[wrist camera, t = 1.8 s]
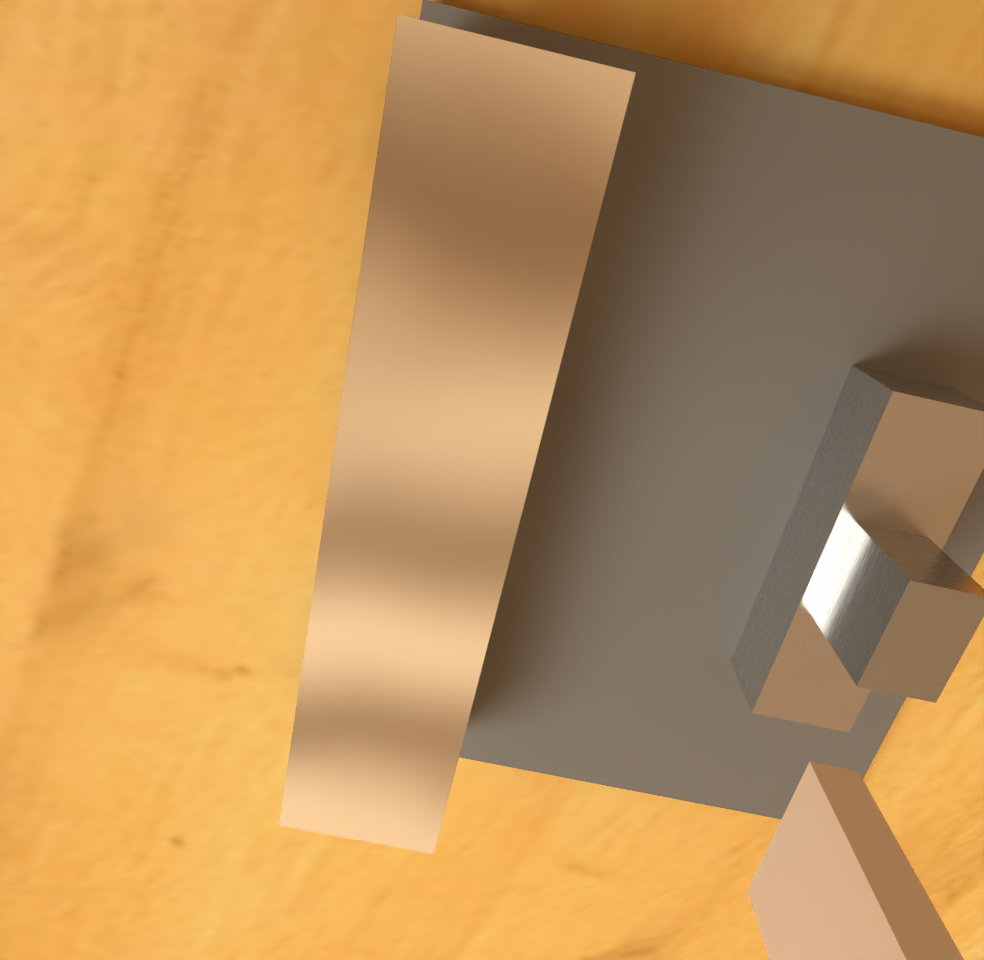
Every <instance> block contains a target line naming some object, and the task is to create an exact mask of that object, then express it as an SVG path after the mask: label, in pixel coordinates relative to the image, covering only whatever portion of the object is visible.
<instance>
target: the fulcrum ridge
mask: <svg viewBox="0 0 984 960" xmlns="http://www.w3.org/2000/svg"><path fill="white" fill-rule="evenodd" d="M983 469H984V404H983V403H982V402H980V401H978V400H976V399H974V398H972V397H970V396H968V395H967V394H965V393H963V392H961V391H959V390H957V389H954V388H950V387H945V386H941V385H937V384H932V383H928V382H923V381H919V380H915V379H910V378H906V377H901V376H897V375H893V374H888V373H884V372H880V371H875V370H871V369H866V368H862V367H858V366H853V365H852V367H851V369H850V371H849V374H848V376H847V379H846V381H845V384H844V386H843V388H842V391H841V393H840V396H839V398H838V401H837V403H836V405H835V408H834V410H833V413H832V415H831V418H830V420H829V422H828V425H827V427H826V430H825V432H824V435H823V437H822V439H821V442H820V444H819V447H818V449H817V452H816V454H815V456H814V459H813V461H812V464H811V466H810V469H809V471H808V473H807V476H806V478H805V481H804V483H803V486H802V488H801V490H800V493H799V495H798V498H797V500H796V503H795V505H794V507H793V510H792V512H791V515H790V517H789V520H788V522H787V524H786V527H785V529H784V532H783V534H782V537H781V539H780V541H779V544H778V546H777V549H776V551H775V554H774V556H773V558H772V561H771V563H770V566H769V568H768V571H767V573H766V575H765V578H764V580H763V583H762V585H761V588H760V590H759V592H758V595H757V597H756V600H755V602H754V605H753V607H752V609H751V612H750V614H749V617H748V619H747V621H746V624H745V626H744V629H743V631H742V634H741V636H740V638H739V641H738V643H737V646H736V648H735V651H734V653H733V655H732V658H731V660H730V662H731V665H732V667H733V669H734V672H735V674H736V677H737V679H738V681H739V684H740V686H741V688H742V691H743V693H744V696H745V698H746V700H747V703H748V705H749V708H750V710H751V712H752V713H754V714H759V715H764V716H769V717H774V718H779V719H784V720H789V721H794V722H799V723H804V724H809V725H814V726H819V727H824V728H829V729H834V730H839V731H844V732H850V730H851V728H852V726H853V724H854V722H855V720H856V718H857V716H858V714H859V712H860V710H861V708H862V706H863V705H864V703H865V701H866V699H867V697H868V695H869V693H870V691H871V689H872V690H877V691H881V692H886V693H891V694H896V695H901V696H906V697H911V698H916V699H921V700H926V701H931V702H935V703H936V701H937V700H938V698H939V696H940V694H941V692H942V691H943V689H944V687H945V685H946V683H947V681H948V680H949V678H950V676H951V674H952V672H953V671H954V669H955V667H956V665H957V663H958V662H959V660H960V658H961V656H962V654H963V653H964V651H965V649H966V647H967V645H968V644H969V642H970V640H971V638H972V636H973V635H974V633H975V631H976V629H977V627H978V626H979V624H980V622H981V620H982V618H983V617H984V589H983V588H982V587H981V586H980V585H979V584H978V583H977V582H976V581H975V580H974V579H972V578H971V577H970V576H969V575H968V574H967V573H966V572H965V571H964V570H963V569H962V568H961V567H960V566H958V565H957V564H956V563H955V562H954V561H953V560H952V559H951V558H950V557H949V556H948V555H947V554H946V553H945V552H943V551H942V549H943V547H944V545H945V543H946V541H947V539H948V537H949V535H950V533H951V531H952V530H953V528H954V526H955V524H956V522H957V520H958V518H959V516H960V514H961V512H962V510H963V508H964V506H965V504H966V502H967V500H968V498H969V496H970V494H971V492H972V490H973V488H974V486H975V484H976V482H977V480H978V478H979V476H980V474H981V472H982V471H983Z"/></svg>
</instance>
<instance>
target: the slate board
mask: <svg viewBox="0 0 984 960" xmlns="http://www.w3.org/2000/svg"><path fill="white" fill-rule="evenodd" d="M420 20H424V21H428V22H432V23H436V24H440V25H444V26H448V27H452V28H456V29H460V30H464V31H468V32H472V33H477V34H481V35H485V36H489V37H493V38H497V39H501V40H505V41H509V42H513V43H517V44H521V45H525V46H530V47H534V48H538V49H542V50H546V51H550V52H554V53H558V54H562V55H566V56H570V57H574V58H578V59H583V60H587V61H591V62H595V63H599V64H603V65H607V66H611V67H615V68H619V69H623V70H627V71H632V72H636V74H635V78H634V82H633V85H632V89H631V93H630V97H629V101H628V105H627V109H626V113H625V116H624V120H623V124H622V128H621V132H620V136H619V140H618V143H617V147H616V151H615V155H614V159H613V163H612V167H611V171H610V174H609V178H608V182H607V186H606V190H605V194H604V198H603V201H602V205H601V209H600V213H599V217H598V221H597V225H596V229H595V232H594V236H593V240H592V244H591V248H590V252H589V256H588V259H587V263H586V267H585V271H584V275H583V279H582V283H581V287H580V290H579V294H578V298H577V302H576V306H575V310H574V314H573V317H572V321H571V325H570V329H569V333H568V337H567V341H566V345H565V348H564V352H563V356H562V360H561V364H560V368H559V372H558V375H557V379H556V383H555V387H554V391H553V395H552V399H551V403H550V406H549V410H548V414H547V418H546V422H545V426H544V430H543V434H542V437H541V441H540V445H539V449H538V453H537V457H536V461H535V464H534V468H533V472H532V476H531V480H530V484H529V488H528V492H527V495H526V499H525V503H524V507H523V511H522V515H521V519H520V522H519V526H518V530H517V534H516V538H515V542H514V546H513V550H512V553H511V557H510V561H509V565H508V569H507V573H506V577H505V580H504V584H503V588H502V592H501V596H500V600H499V604H498V608H497V611H496V615H495V619H494V623H493V627H492V631H491V635H490V638H489V642H488V646H487V650H486V654H485V658H484V662H483V666H482V669H481V673H480V677H479V681H478V685H477V689H476V693H475V696H474V700H473V704H472V708H471V712H470V716H469V720H468V724H467V727H466V731H465V735H464V739H463V743H462V747H461V751H460V754H459V757H461V758H466V759H471V760H477V761H482V762H487V763H492V764H497V765H502V766H508V767H513V768H518V769H523V770H528V771H534V772H539V773H544V774H549V775H554V776H560V777H565V778H570V779H575V780H580V781H586V782H591V783H596V784H601V785H606V786H611V787H617V788H622V789H627V790H632V791H637V792H643V793H648V794H653V795H658V796H663V797H669V798H674V799H679V800H684V801H689V802H695V803H700V804H705V805H710V806H715V807H720V808H726V809H731V810H736V811H741V812H746V813H752V814H757V815H762V816H767V817H772V818H778V819H782V817H783V815H784V813H785V811H786V809H787V807H788V805H789V803H790V801H791V799H792V797H793V795H794V793H795V790H796V788H797V786H798V784H799V782H800V780H801V778H802V776H803V774H804V772H805V770H806V768H807V766H808V764H809V761H810V762H815V763H820V764H825V765H830V766H835V767H840V768H845V769H850V770H855V771H858V772H859V774H860V776H861V777H862V779H863V777H864V775H865V774H866V772H867V770H868V768H869V766H870V764H871V762H872V760H873V759H874V757H875V755H876V753H877V751H878V749H879V747H880V745H881V744H882V742H883V740H884V738H885V736H886V734H887V732H888V730H889V729H890V727H891V725H892V723H893V721H894V719H895V717H896V715H897V714H898V712H899V710H900V708H901V706H902V704H903V702H904V700H905V699H906V696H901V695H896V694H891V693H886V692H881V691H877V690H872V689H871V691H870V693H869V695H868V697H867V699H866V701H865V703H864V705H863V706H862V708H861V710H860V712H859V714H858V716H857V718H856V720H855V722H854V724H853V726H852V728H851V730H850V732H844V731H839V730H834V729H829V728H824V727H819V726H814V725H809V724H804V723H799V722H794V721H789V720H784V719H779V718H774V717H769V716H764V715H759V714H754V713H752V712H751V710H750V708H749V705H748V703H747V700H746V698H745V696H744V693H743V691H742V688H741V686H740V684H739V681H738V679H737V677H736V674H735V672H734V669H733V667H732V665H731V662H730V660H731V658H732V655H733V653H734V651H735V648H736V646H737V643H738V641H739V638H740V636H741V634H742V631H743V629H744V626H745V624H746V621H747V619H748V617H749V614H750V612H751V609H752V607H753V605H754V602H755V600H756V597H757V595H758V592H759V590H760V588H761V585H762V583H763V580H764V578H765V575H766V573H767V571H768V568H769V566H770V563H771V561H772V558H773V556H774V554H775V551H776V549H777V546H778V544H779V541H780V539H781V537H782V534H783V532H784V529H785V527H786V524H787V522H788V520H789V517H790V515H791V512H792V510H793V507H794V505H795V503H796V500H797V498H798V495H799V493H800V490H801V488H802V486H803V483H804V481H805V478H806V476H807V473H808V471H809V469H810V466H811V464H812V461H813V459H814V456H815V454H816V452H817V449H818V447H819V444H820V442H821V439H822V437H823V435H824V432H825V430H826V427H827V425H828V422H829V420H830V418H831V415H832V413H833V410H834V408H835V405H836V403H837V401H838V398H839V396H840V393H841V391H842V388H843V386H844V384H845V381H846V379H847V376H848V374H849V371H850V369H851V367H852V365H853V366H858V367H862V368H866V369H871V370H875V371H880V372H884V373H888V374H893V375H897V376H901V377H906V378H910V379H915V380H919V381H923V382H928V383H932V384H937V385H941V386H945V387H950V388H954V389H957V390H959V391H961V392H963V393H965V394H967V395H968V396H970V397H972V398H974V399H976V400H978V401H980V402H982V403H983V404H984V137H981V136H977V135H973V134H968V133H964V132H960V131H956V130H952V129H948V128H944V127H940V126H936V125H932V124H928V123H924V122H920V121H916V120H912V119H908V118H904V117H900V116H896V115H891V114H887V113H883V112H879V111H875V110H871V109H867V108H863V107H859V106H855V105H851V104H847V103H843V102H839V101H835V100H831V99H827V98H823V97H819V96H814V95H810V94H806V93H802V92H798V91H794V90H790V89H786V88H782V87H778V86H774V85H770V84H766V83H762V82H758V81H754V80H750V79H746V78H742V77H737V76H733V75H729V74H725V73H721V72H717V71H713V70H709V69H705V68H701V67H697V66H693V65H689V64H685V63H681V62H677V61H673V60H669V59H664V58H660V57H656V56H652V55H648V54H644V53H640V52H636V51H632V50H628V49H624V48H620V47H616V46H612V45H608V44H604V43H600V42H596V41H592V40H587V39H583V38H579V37H575V36H571V35H567V34H563V33H559V32H555V31H551V30H547V29H543V28H539V27H535V26H531V25H527V24H523V23H519V22H515V21H510V20H506V19H502V18H498V17H494V16H490V15H486V14H482V13H478V12H474V11H470V10H466V9H462V8H458V7H454V6H450V5H446V4H442V3H438V2H433V1H429V0H423V3H422V9H421V16H420ZM942 551H943V552H945V553H946V554H947V555H948V556H949V557H950V558H951V559H952V560H953V561H954V562H955V563H956V564H957V565H958V566H960V567H961V568H962V569H963V570H964V571H965V572H966V573H967V574H968V575H969V576H970V577H971V575H972V573H973V571H974V569H975V567H976V565H977V564H978V562H979V560H980V558H981V556H982V554H983V552H984V469H983V471H982V472H981V474H980V476H979V478H978V480H977V482H976V484H975V486H974V488H973V490H972V492H971V494H970V496H969V498H968V500H967V502H966V504H965V506H964V508H963V510H962V512H961V514H960V516H959V518H958V520H957V522H956V524H955V526H954V528H953V530H952V531H951V533H950V535H949V537H948V539H947V541H946V543H945V545H944V547H943V549H942Z"/></svg>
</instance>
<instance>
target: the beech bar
mask: <svg viewBox="0 0 984 960" xmlns="http://www.w3.org/2000/svg"><path fill="white" fill-rule="evenodd" d="M635 74H636V72H632V71H627V70H623V69H619V68H615V67H611V66H607V65H603V64H599V63H595V62H591V61H587V60H583V59H578V58H574V57H570V56H566V55H562V54H558V53H554V52H550V51H546V50H542V49H538V48H534V47H530V46H525V45H521V44H517V43H513V42H509V41H505V40H501V39H497V38H493V37H489V36H485V35H481V34H477V33H472V32H468V31H464V30H460V29H456V28H452V27H448V26H444V25H440V24H436V23H432V22H428V21H424V20H419V19H415V18H411V17H407V16H403V15H399V14H398V15H397V22H396V29H395V36H394V43H393V50H392V56H391V63H390V70H389V77H388V84H387V91H386V98H385V104H384V111H383V118H382V125H381V132H380V139H379V145H378V152H377V159H376V166H375V173H374V180H373V186H372V193H371V200H370V207H369V214H368V221H367V227H366V234H365V241H364V248H363V255H362V262H361V268H360V275H359V282H358V289H357V296H356V303H355V309H354V316H353V323H352V330H351V337H350V344H349V350H348V357H347V364H346V371H345V378H344V385H343V392H342V398H341V405H340V412H339V419H338V426H337V433H336V439H335V446H334V453H333V460H332V467H331V474H330V480H329V487H328V494H327V501H326V508H325V515H324V521H323V528H322V535H321V542H320V549H319V556H318V562H317V569H316V576H315V583H314V590H313V597H312V603H311V610H310V617H309V624H308V631H307V638H306V645H305V651H304V658H303V665H302V672H301V679H300V686H299V692H298V699H297V706H296V713H295V720H294V727H293V733H292V740H291V747H290V754H289V761H288V768H287V774H286V781H285V788H284V795H283V802H282V809H281V815H280V822H279V826H285V827H290V828H295V829H301V830H306V831H312V832H317V833H322V834H328V835H333V836H339V837H344V838H349V839H355V840H360V841H366V842H371V843H376V844H382V845H387V846H393V847H398V848H403V849H409V850H414V851H420V852H425V853H430V854H434V851H435V847H436V843H437V840H438V836H439V832H440V828H441V824H442V820H443V816H444V813H445V809H446V805H447V801H448V797H449V793H450V789H451V785H452V782H453V778H454V774H455V770H456V766H457V762H458V758H459V754H460V751H461V747H462V743H463V739H464V735H465V731H466V727H467V724H468V720H469V716H470V712H471V708H472V704H473V700H474V696H475V693H476V689H477V685H478V681H479V677H480V673H481V669H482V666H483V662H484V658H485V654H486V650H487V646H488V642H489V638H490V635H491V631H492V627H493V623H494V619H495V615H496V611H497V608H498V604H499V600H500V596H501V592H502V588H503V584H504V580H505V577H506V573H507V569H508V565H509V561H510V557H511V553H512V550H513V546H514V542H515V538H516V534H517V530H518V526H519V522H520V519H521V515H522V511H523V507H524V503H525V499H526V495H527V492H528V488H529V484H530V480H531V476H532V472H533V468H534V464H535V461H536V457H537V453H538V449H539V445H540V441H541V437H542V434H543V430H544V426H545V422H546V418H547V414H548V410H549V406H550V403H551V399H552V395H553V391H554V387H555V383H556V379H557V375H558V372H559V368H560V364H561V360H562V356H563V352H564V348H565V345H566V341H567V337H568V333H569V329H570V325H571V321H572V317H573V314H574V310H575V306H576V302H577V298H578V294H579V290H580V287H581V283H582V279H583V275H584V271H585V267H586V263H587V259H588V256H589V252H590V248H591V244H592V240H593V236H594V232H595V229H596V225H597V221H598V217H599V213H600V209H601V205H602V201H603V198H604V194H605V190H606V186H607V182H608V178H609V174H610V171H611V167H612V163H613V159H614V155H615V151H616V147H617V143H618V140H619V136H620V132H621V128H622V124H623V120H624V116H625V113H626V109H627V105H628V101H629V97H630V93H631V89H632V85H633V82H634V78H635Z"/></svg>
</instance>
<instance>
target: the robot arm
mask: <svg viewBox="0 0 984 960" xmlns="http://www.w3.org/2000/svg"><path fill="white" fill-rule="evenodd" d="M748 893H749V896H750V899H751V903H752V906H753V909H754V912H755V915H756V918H757V922H758V925H759V928H760V931H761V934H762V937H763V940H764V944H765V947H766V950H767V953H768V956H769V959H770V960H964V959H963V957H962V956H961V954H960V952H959V950H958V949H957V947H956V945H955V943H954V941H953V940H952V938H951V936H950V934H949V932H948V931H947V929H946V927H945V925H944V924H943V922H942V920H941V918H940V916H939V915H938V913H937V911H936V909H935V908H934V906H933V904H932V902H931V900H930V899H929V897H928V895H927V893H926V891H925V890H924V888H923V886H922V884H921V883H920V881H919V879H918V877H917V875H916V874H915V872H914V870H913V868H912V867H911V865H910V863H909V861H908V859H907V858H906V856H905V854H904V852H903V850H902V849H901V847H900V845H899V843H898V842H897V840H896V838H895V836H894V834H893V833H892V831H891V829H890V827H889V826H888V824H887V822H886V820H885V818H884V817H883V815H882V813H881V811H880V809H879V808H878V806H877V804H876V802H875V801H874V799H873V797H872V795H871V793H870V792H869V790H868V788H867V786H866V785H865V783H864V781H863V779H862V777H861V776H860V774H859V772H858V771H855V770H850V769H845V768H840V767H835V766H830V765H825V764H820V763H815V762H810V761H809V764H808V766H807V768H806V770H805V772H804V774H803V776H802V778H801V780H800V782H799V784H798V786H797V788H796V790H795V793H794V795H793V797H792V799H791V801H790V803H789V805H788V807H787V809H786V811H785V813H784V815H783V817H782V819H781V822H780V824H779V826H778V828H777V830H776V832H775V834H774V836H773V838H772V840H771V842H770V844H769V846H768V848H767V851H766V853H765V855H764V857H763V859H762V861H761V863H760V865H759V867H758V869H757V871H756V873H755V875H754V877H753V880H752V882H751V884H750V886H749V888H748Z"/></svg>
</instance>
